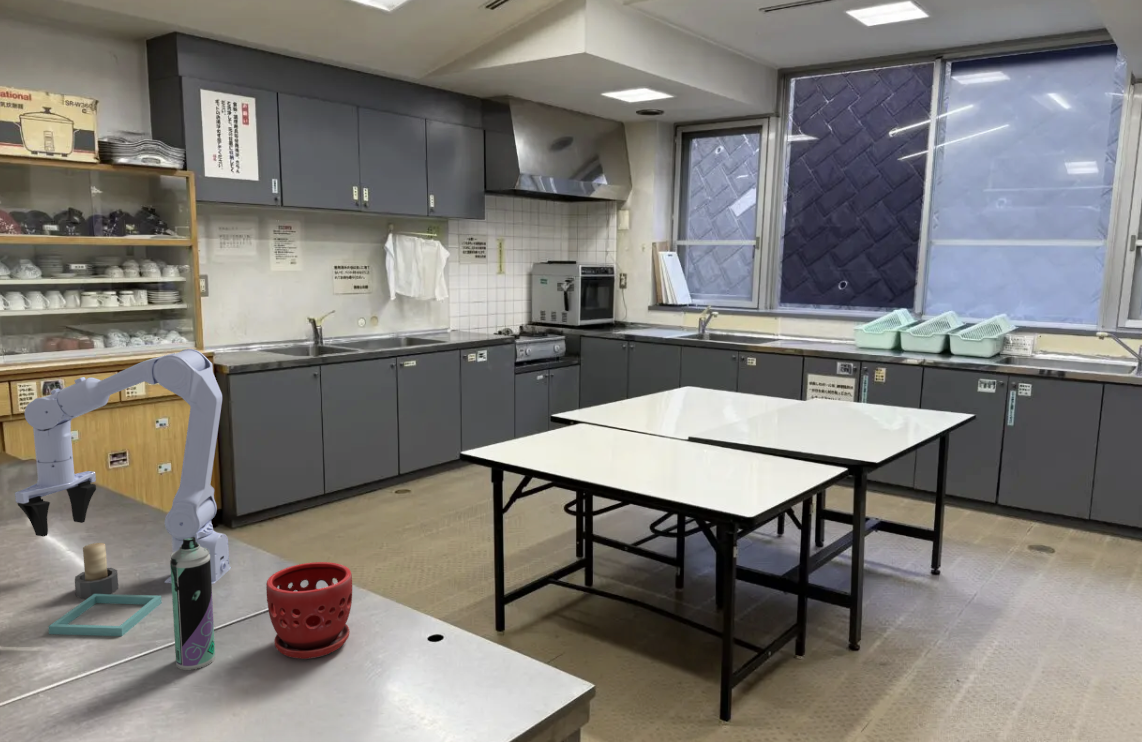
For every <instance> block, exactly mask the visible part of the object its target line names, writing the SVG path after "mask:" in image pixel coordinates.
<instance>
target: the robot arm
mask: <svg viewBox="0 0 1142 742" xmlns="http://www.w3.org/2000/svg"><path fill="white" fill-rule="evenodd" d="M213 365H214V364H213V362H211V360H209V359H208V358H207V357H206V356H205V355H204V354H203V353H202V352H201V351H199V350H197V349H193V348H187V349H183V350H181V351H179V352H176V353H175V352H173V353H169V354H164V355H162V356H157V357H153V358H150V359H147V360H144V361H141V362H139V363H136V364H134V365H132V366H130V367H127V368H126V369H123V370H121V371H119V372H117V373H115V374H112V375H110V376H108V377H105V378H103V379H99V378H96V377H88V378H86V377H84V376H82V377H79V378H76V379H75V380H74V384H71V385H68V386H66V387H64V388H62V389H60V388H55V389H53V390H51V391H50V393H51V394H48V395H46V396H43V397H36V398H33V400H32V401H30V402H29V403H28V404H27V405H26V407H25V409H24V418H25V420H26V422H27V424H28V425H29V426H31V428H32V431H33V441H34V451H35V461H36V471H37V472H36V473H37V480H36V483H34V484H32V485H30V486H28V487H25V488H24V489H21V490H18V491H16V492H14V495H15V496H14V497H15V498H14V499H15V503H17V504H16V505H17V506H18V507H19V508H20V509H21V510H22V511H23V513H24V514H25V516H26V517H27V518H28V520H29V523H30V524H31V526H32V529H33V531H34V534H35V536H37V537H47V536H48V535H49V534H48V533H49V525H48V513H49V508H50V504H51V502H50V501H46V500H44V499H43V498H42V497H45V496H46V497H47V496H49V495H52V494H56V493H58V492H63V491H65V490H66V491H67V495H68V498H69V501H70V504H71V506H70V507H71V514H72V520H73V522H74V523H80V524H83V523H85V521H86V517H87V513H88V508H89V505H90V502H91V499H92V497H93V495H94V494H95V492H96V490H97V486H96V484H94V483H95V482H96V481H97V480H96V478H97V476H96V472H95V471H89V470H87V471H83V472H82V471H81V472H78V473H75V468H74V467H75V466H74V455H73V454H74V453H73V445H72V432H71V431H72V430H71V429H72V425H71V424H72V420H73V419H76V418H78V417H81V416H83V415H86V414H88V413H90V412H92V411H95V410H97V409H100V408H102V407H104V406H106V405H107V404H108V402H109V400H110V396H111V395H113V394H116V393H119V392H121V391H124V390H126V389H129V388H131V387H134V386H137V385H139V384H141V383H144V382H145V383H148V384H151V385H156V384H159V385H160V386H162V387H163V388H164V389H166V390H167V391H170V392H171V393H173V394H175V395H176V396H178V397H179V398H181V399H183V400H184V401H185V403H187V404H188V405H189V408H190V410H189V415H188V416H189V417H188V425H187V430H186V431H187V432H186V438H185V439H186V440H185V444H184V452H183V453H184V454H183V461H182V467H181V476H180V482H179V487H178V489H177V492H176V494H175V496H174V498H173V500H172V505H171V508H170V510H169V511H168V513H167V514H166V516H165V518H164V527H165V530H166V531H167V533H168V534H169V535H170V536H171V549H172V550H171V551H172V553H174V552H176V551H178V550H179V548H180V546H182V544H183V539H188V538H191V537H195V539H196V542H197V544H200V547H203V548H207V549H208V550H209V554H210V562H211V582H212V585H214V584H216V582H217V581H219V580H220V579H221V578H222V577H223V576H224V575H226V574H227V572H229V571H230V570H231V568H232V567H231V565H230V550H229V549H230V548H229V547H230V546H229V538H228V536H227V535H226V534H225V533H221V532H217V531H215V530H214V527H213V524H212V520H213V518H215V516H216V514H217V510H218V509H217V503H216V501H215V496H214V495H215V488H214V487H213V486H212V485H211V481H212V475H213V470H214V469H213V468H214V460H215V453H216V446H217V440H218V439H217V438H218V433H219V425H220V419H221V410H222V404H223V393H222V391H221V388H220V386H219V384H218V382H217V380H216V379H217V378H216V377H215V373H214V370H213V369H214V367H213ZM163 582H164V583H165V584H171V576H169V577H168V578H167V579H165V581H163Z"/></svg>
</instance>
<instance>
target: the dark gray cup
mask: <svg viewBox="0 0 1142 742" xmlns="http://www.w3.org/2000/svg"><path fill="white" fill-rule="evenodd" d="M107 574H108V577H106V578H103V579H100V580H95V581H85V571H81V572H80V573H78V574H76V575H75V577H74V591H75V597H77V598H79V599H84V600H86V599H88V598H89V597H90V596H92V595H93V594H114V593H115V592H117V591H118V590H119V575H118V569H116V568H114V567H107Z"/></svg>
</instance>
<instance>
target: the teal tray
mask: <svg viewBox="0 0 1142 742" xmlns="http://www.w3.org/2000/svg"><path fill="white" fill-rule="evenodd" d="M162 601H163V600H162V595H154V594H153V595H150V594H149V595H146V594H118V593H117V594H114V593H112V594H93V595H92V596H90V597H89V598H88V599H84V600H83V601H82V602H80V603H79V604H78V605H76V606H75V607H74V608H72V609H70V610H69V611H68V612H66V613H65V614H64V615H62V616H60V618H58V619H56V620H55V621H54V622H52V623H51V624H50V625H48V626H47V628H48V635H73V636H74V635H75V636H98V637H99V636H101V637H103V636H104V637H123V636H124V635H126V634H127V633H128V632H129V631H130V630H131V629H132V628H134V627H135V626H136V625H137V624H139V622H141V621H142V620H143V619H145V617H147V616H148V615H149V614H150V613H152V612H153V610H155V609H156V608H158V607H159V606H160V605H161V604H162ZM96 604H113V605H114V604H117V605H119V604H120V605H143V606H142V607H141V608H140V609H139V610H137V611H136V612H134V614H132V615H131V616H130V617H129V618H128V619H126V620H125V621H124V622H122V624H120V625H104V624H103V625H101V624H100V625H99V624H97V625H96V624H70V623H72V622H73V621H74V620H76V619H77V618H78V617H80V616H81V615H82V614H84V613H85V612H86V611H89V609H90V608H91V607H93V606H94V605H96Z"/></svg>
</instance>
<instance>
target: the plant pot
mask: <svg viewBox="0 0 1142 742" xmlns="http://www.w3.org/2000/svg"><path fill="white" fill-rule="evenodd" d="M334 579H336V581H337V582H336V583H334V581H333V580H334ZM304 581H307V585H306V586H302V585H301V583H302V582H304ZM320 581H323V582H324V583H326V585H327V586H325V587H321V588H317V584H318V582H320ZM290 584H292V585H291V586H290V587H289V585H290ZM352 601H353V577H352V571H351V570H350V568H349V567H347V566H345V565H344V564H341V563H336V562H330V561H329V562H328V561H319V562H317V561H316V562H306V563H301V564H300V563H299V564H296V565H291V566H287V567H286V568H283V569H280V570H278V571H277V572H275V573H273V574H271V575H270V576H269V577H268V579H267V580H266V603H267V608H268V609H267V610H268V614H269V618H270V621H271V625H272V626H273V629H274V632H275V633H276V635H275V636H274V642H273V643H274V647H275V648H276V650H277V651H278V652H279V653H281V655H284V656H286V657H289V658H291V659H292V658H294V659H303V660H305V659H314V658H320V657H323V656H324V657H325V656H326V655H330V654H329V653H331V652H332V653H333V652H335V651H336V650H338V649H340V648H341V647H342V646H343V645H344V644H345V643H346V642H347V640H348V639H349V636H350V627H349V625H348V624H347V622H348V620H349V616H350V614H351V608H352ZM332 653H331V654H332Z"/></svg>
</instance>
